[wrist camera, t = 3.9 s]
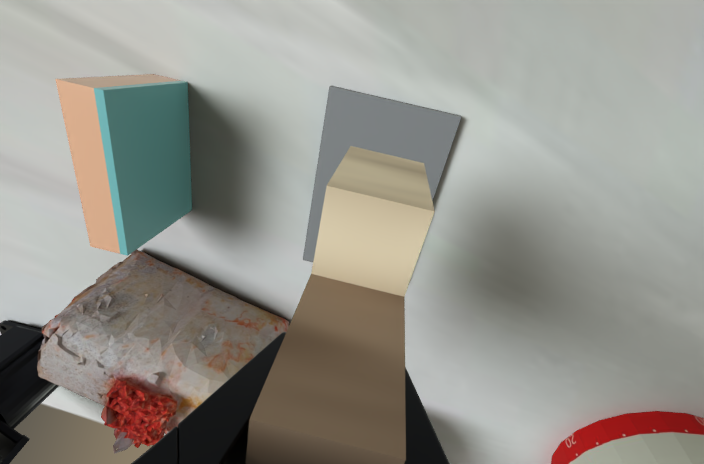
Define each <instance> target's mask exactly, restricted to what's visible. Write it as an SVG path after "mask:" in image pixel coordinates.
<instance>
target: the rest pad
mask: <svg viewBox="0 0 704 464" xmlns="http://www.w3.org/2000/svg"><path fill="white" fill-rule="evenodd" d="M460 120H461V116H460V115H455V114H451V113H447V112H442V111H438V110H434V109H429V108H425V107H421V106H416V105H412V104H408V103H403V102H399V101H395V100H390V99H386V98H382V97H378V96H373V95H369V94H365V93H360V92H356V91H352V90H347V89H343V88H339V87H334V86H330V87H329V93H328V100H327V106H326V113H325V119H324V126H323V132H322V139H321V145H320V152H319V158H318V164H317V171H316V177H315V184H314V190H313V197H312V203H311V210H310V216H309V223H308V229H307V236H306V242H305V249H304V255H303V260H306V261H310V262H313V261H314V256H315V250H316V244H317V238H318V233H319V227H320V221H321V215H322V210H323V204H324V198H325V192H326V187H327V184H328V183H329V181H330V179H331V178H332V176H333V174H334V173H335V171H336V169H337V168H338V166H339V164H340V163H341V161H342V159H343V158H344V156H345V154H346V153H347V151H348V150H349V148H350V146H353V147H358V148H362V149H366V150H370V151H375V152H379V153H383V154H387V155H392V156H396V157H400V158H404V159H408V160H413V161H417V162H421V163H424V165H425V170H426V174H427V179H428V184H429V188H430V193H431V198H432V201H433V198H434V195H435V192H436V189H437V186H438V183H439V181H440V178H441V175H442V172H443V169H444V166H445V163H446V160H447V157H448V154H449V151H450V149H451V146H452V143H453V140H454V137H455V134H456V131H457V128H458V125H459V122H460Z"/></svg>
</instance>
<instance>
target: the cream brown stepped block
mask: <svg viewBox="0 0 704 464" xmlns="http://www.w3.org/2000/svg"><path fill="white" fill-rule="evenodd" d="M434 212H435V211H434V207H433V202H432V198H431V193H430V188H429V184H428V179H427V174H426V170H425V165H424V163H421V162H417V161H413V160H408V159H404V158H400V157H396V156H392V155H387V154H383V153H379V152H375V151H370V150H366V149H362V148H358V147H353V146H350V148H349V150H348V151H347V153H346V154H345V156H344V158H343V159H342V161H341V163H340V164H339V166H338V168H337V169H336V171H335V173H334V174H333V176H332V178H331V179H330V181H329V183H328V184H327V187H326V192H325V198H324V204H323V210H322V215H321V221H320V227H319V233H318V238H317V244H316V250H315V256H314V261H313V267H312V273H311V276H310V278H309V280H308V283H307V285H306V288H305V290H304V292H303V295H302V297H301V299H300V302H299V304H298V306H297V309H296V311H295V313H294V316H293V318H292V320H291V323H290V325H289V327H288V330H287V332H286V334H285V337H284V339H283V342H282V344H281V346H280V349H279V351H278V353H277V356H276V358H275V360H274V363H273V365H272V367H271V370H270V372H269V374H268V377H267V379H266V381H265V384H264V386H263V388H262V391H261V393H260V396H259V398H258V400H257V403H256V405H255V407H254V410H253V412H252V414H251V417H250V419H249V430H248V442H247V454H246V464H404V463H405V461H406V415H405V316H404V296H405V293H406V291H407V288H408V285H409V282H410V279H411V276H412V274H413V271H414V268H415V265H416V262H417V260H418V257H419V254H420V251H421V248H422V245H423V243H424V240H425V237H426V234H427V231H428V229H429V226H430V223H431V220H432V217H433V214H434Z"/></svg>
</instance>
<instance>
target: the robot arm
mask: <svg viewBox="0 0 704 464" xmlns="http://www.w3.org/2000/svg"><path fill="white" fill-rule="evenodd" d="M0 331H1V334H2V335H0V464H9V463H10V462H11V461H12V460H13V458H14V457H15V456H16V455H17V453H18V452H19V451H20V450H21V449H22V448H23V447H24V445H25V444H26V443H27V441H29V438H28V437H27V436H25V435H21V434H20V433H18V432H17V431H16V430H14V428H15V427H16V426H17V425H18V424H19V423H20V422H21V421H23V420H24V419H25V418H26V417H27V416H28V415H29V414H30V413H31V412H32V411H33V410H34V409H35V408H36V407H37V406H38V405H39V404H40V403H42V402H43V401H44V400H45V399H46V398H47V397H48V396H49V395H50V394H51V393H52V392H53V391H54V390H55V389H56V388H57V387H58V386H59V385H56V384H54V383H52V382H50V381H48V380H46V379H43V378H40V377H39V375H38V370H37V366H38V351H39V350H40V348H41V345H42V342H43V339H44V336H43V333H42V330H41V329H37V328H33V327H29V326H26V325H22V324H18V323H14V322H10V321H3V322H1V323H0ZM285 334H286V332H282V333H281V334H280V335H279V336H277V337H276V338H275V339H274V340H273V341H272V342H271V343H269V344H268V345H267V346H266V347H265V348H264V349H263V350H262V351H260V352H259V353H258V354H257V355H256V356H255V357H254V358H252V359H251V360H250V361H249V362H248V363H247V364H246V365H245V366H243V367H242V368H241V369H240V370H239V371H238V372H237V373H235V374H234V375H233V376H232V377H231V378H230V379H229V380H227V381H226V382H225V383H224V384H223V385H222V386H221V387H220V388H218V389H217V390H216V391H215V392H214V393H213V394H212V395H210V396H209V397H208V398H207V399H206V400H205V401H204V402H203V403H201V404H200V405H199V406H198V407H197V408H196V409H195V410H193V411H192V412H191V413H190V414H189V415H188V416H187V417H185V418H184V419H183V420H182V421H181V422H180V423H179V424H178V427H174V428H173V429H172V430H171V431H169V432H168V433H167V434H166V435H165V436H164V437H163V438H161V439H160V440H159V441H158V442H157V443H156V444H154V445H153V446H152V447H151V448H150V449H149V450H147V451H146V452H145V453H144V454H143V455H141V456H140V457H139V458H138V459H137V460H135V461H134V462H133V463H131V464H246V454H247V442H248V430H249V419H250V417H251V414H252V412H253V410H254V407H255V405H256V403H257V400H258V398H259V396H260V393H261V391H262V388H263V386H264V384H265V381H266V379H267V377H268V374H269V372H270V370H271V367H272V365H273V363H274V360H275V358H276V356H277V353H278V351H279V349H280V346H281V344H282V342H283V339H284V337H285ZM405 415H406V461H405V463H404V464H449V462H448V459H447V457H446V455H445V453H444V451H443V449H442V446H441V444H440V442H439V440H438V438H437V435H436V433H435V431H434V429H433V427H432V424H431V422H430V420H429V418H428V416H427V414H426V411H425V409H424V407H423V405H422V403H421V400H420V398H419V396H418V394H417V392H416V389H415V387H414V385H413V383H412V381H411V379H410V376H409V374H408V372H407V370H406V368H405Z"/></svg>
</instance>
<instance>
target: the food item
mask: <svg viewBox="0 0 704 464" xmlns="http://www.w3.org/2000/svg"><path fill="white" fill-rule="evenodd" d="M96 280H97V281H96V284H94V285H92V286H90V287H88V288H86V289H85V290H83V291H82V292H81V293H80V294H79V295H77V296H76V297H74V298H73V300H72V302H71V303H70V304H69V305H68V306H67V307H66V308H65V309H64V310H63V311H62V312H61V313H60V314H58V315H56V316H55V318H54V319H52V320H50V321H49V323H47V324H46V325H44V326H43V327H42V333H43V336H44V339H43V342H42V345H41V348H40V350H39V351H38V366H37V370H38V375H39V377H40V378H43V379H46V380H48V381H50V382H52V383H54V384H56V385H59V386H62V387H64V388H66V389H68V390H71V391H73V392H75V393H77V394H79V395H81V396H85V397H87V398H89V399H91V400H93V401H95V402H97V403H100V404H102V405H104V406H105V407H104V409H103V411H102V415H101V418H102V419H103V420H104V421H105V424H104V425H107V426H109V427H112V428H115V430H114V435H115V437H116V442H115V444H114V445H113V448H114V453H117V452H120V451H123V450H126V449H127V448H128V447H130V446H131V445H132V444H135V446H136V447H137V448H138V447H139V446H140V445H141V443H142V444H145V445H147V446H149V445H154V444H156V443H157V442H158V441H159V440H160V439H161V438H163V436H164V433H166V434H167V433H168V432H169V431H171V430H172V429H173V428H174V427H178V424H179V423H180V422H181V421H182V420H183V419H184V418H185V417H187V416H188V415H189V414H190V413H191V412H192V411H193V410H195V409H196V408H197V407H198V406H199V405H200V404H201V403H203V402H204V401H205V400H206V399H207V398H208V397H209V396H210V395H212V394H213V393H214V392H215V391H216V390H217V389H218V388H220V387H221V386H222V385H223V384H224V383H225V382H226V381H227V380H229V379H230V378H231V377H232V376H233V375H234V374H235V373H237V372H238V371H239V370H240V369H241V368H242V367H243V366H245V365H246V364H247V363H248V362H249V361H250V360H251V359H252V358H254V357H255V356H256V355H257V354H258V353H259V352H260V351H262V350H263V349H264V348H265V347H266V346H267V345H268V344H269V343H271V342H272V341H273V340H274V339H275V338H276V337H277V336H279V335H280V334H281V333H282V332H287V330H288V327H289V321H287V320H286V319H284V318H282V317H279V316H276V315H274V314H272V313H269V312H267V311H265V310H263V309H260V308H258V307H256V306H253V305H251V304H249V303H246V302H244V301H242V300H239V299H238V298H236V297H235V296H232V295H230V294H228V293H225V292H223V291H221V290H219V289H217V288H214V287H212V286H210V285H208V284H207V283H205V282H203V281H201V280H199V279H197V278H195V277H193V276H191V275H189V274H187V273H185V272H183V271H181V270H179V269H177V268H174V267H171V266H169V265H167V264H165V263H163V262H161V261H159V260H157V259H155V258H153V257H151V256H149V255H148V254H146V253H144V252H141V251H138V250H137V249H136V250H135V251H133V252H132V253H131V255H130V256H129V257H128V258H126V259H125V260H124V261H123V262H119V263H118V264H116V265H114V266H113V267H112V268H110V269H109V270H108V271H107V272H105V273H104V274H103V275H101V276H100V277H99V278H98V279H96ZM133 440H134V442H133ZM116 448H118V449H117V450H116Z"/></svg>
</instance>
